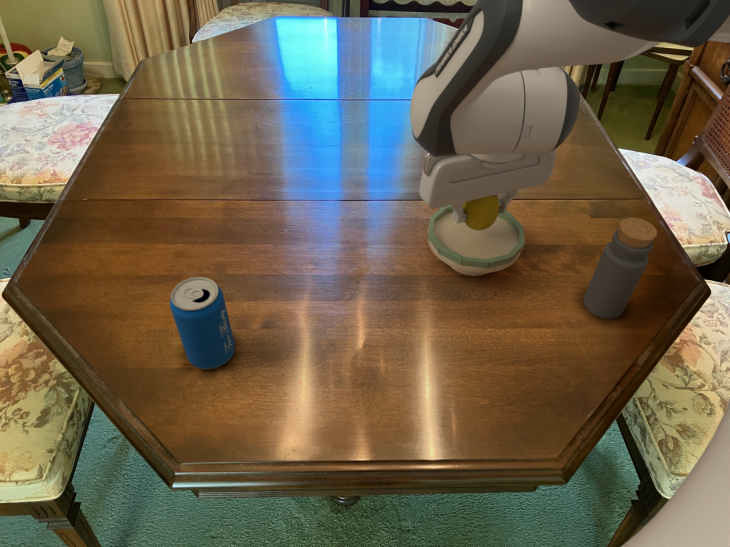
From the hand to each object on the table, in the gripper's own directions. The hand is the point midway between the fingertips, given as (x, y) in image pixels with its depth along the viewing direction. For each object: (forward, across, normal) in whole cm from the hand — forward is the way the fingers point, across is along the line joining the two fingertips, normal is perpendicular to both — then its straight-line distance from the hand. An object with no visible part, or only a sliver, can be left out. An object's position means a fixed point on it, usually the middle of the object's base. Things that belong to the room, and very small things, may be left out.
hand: (479, 215), depth 84 cm
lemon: (+3, 0, 0) cm, 3 cm away
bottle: (+9, +14, -16) cm, 23 cm away
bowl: (+9, 0, 0) cm, 9 cm away
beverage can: (+9, -43, -5) cm, 44 cm away
